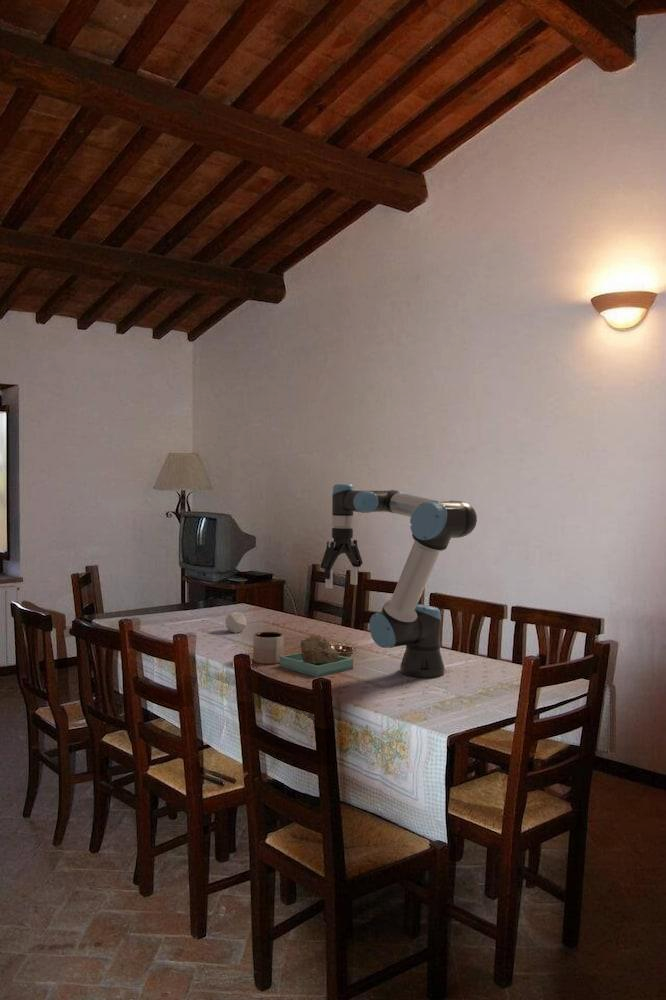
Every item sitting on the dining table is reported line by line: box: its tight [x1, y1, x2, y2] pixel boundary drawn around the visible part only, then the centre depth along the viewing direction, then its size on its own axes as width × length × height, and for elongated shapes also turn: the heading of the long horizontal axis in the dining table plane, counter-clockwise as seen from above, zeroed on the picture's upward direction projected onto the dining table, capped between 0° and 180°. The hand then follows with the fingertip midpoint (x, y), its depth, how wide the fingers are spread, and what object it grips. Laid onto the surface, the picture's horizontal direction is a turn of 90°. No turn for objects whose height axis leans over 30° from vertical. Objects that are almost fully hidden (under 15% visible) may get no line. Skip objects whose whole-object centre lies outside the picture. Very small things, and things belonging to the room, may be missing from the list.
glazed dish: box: [279, 651, 354, 678], centre depth 290 cm, size 19×17×4 cm
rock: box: [300, 635, 340, 666], centre depth 290 cm, size 11×12×10 cm
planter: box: [252, 631, 285, 665], centre depth 298 cm, size 11×11×10 cm
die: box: [224, 611, 247, 634], centre depth 347 cm, size 8×9×10 cm
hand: (341, 586), depth 300 cm, fingers open, 13 cm apart
